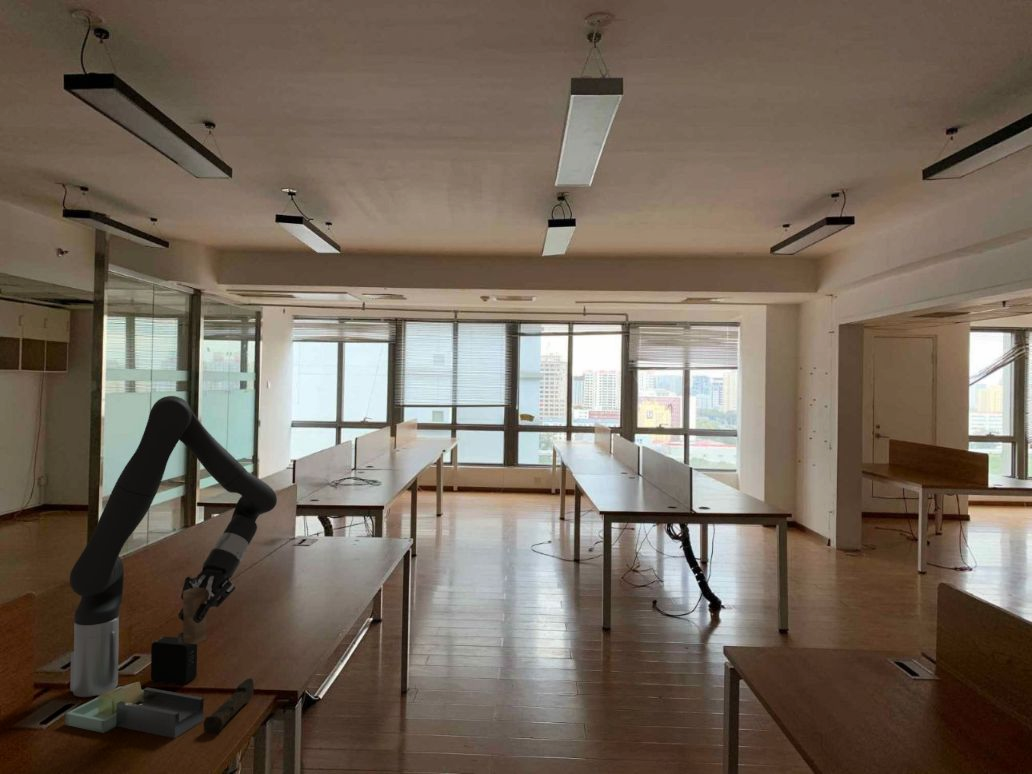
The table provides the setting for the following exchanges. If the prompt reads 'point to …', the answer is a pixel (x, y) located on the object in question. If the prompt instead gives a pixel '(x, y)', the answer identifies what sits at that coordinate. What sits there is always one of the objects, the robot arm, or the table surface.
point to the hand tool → (229, 707)
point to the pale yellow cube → (128, 694)
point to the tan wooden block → (191, 629)
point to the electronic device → (173, 661)
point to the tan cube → (106, 703)
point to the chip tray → (90, 717)
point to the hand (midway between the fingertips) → (188, 620)
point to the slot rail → (161, 713)
